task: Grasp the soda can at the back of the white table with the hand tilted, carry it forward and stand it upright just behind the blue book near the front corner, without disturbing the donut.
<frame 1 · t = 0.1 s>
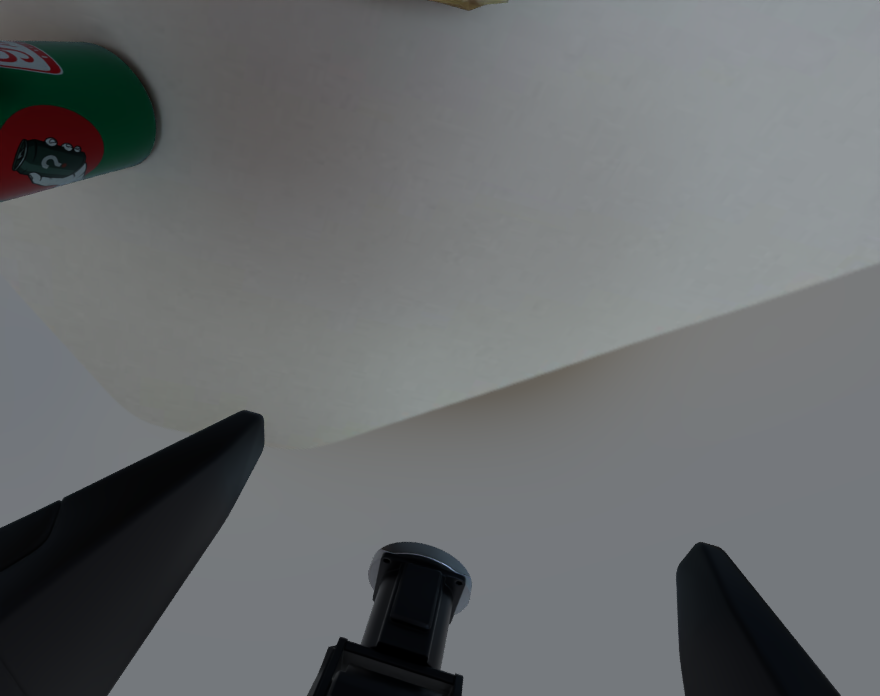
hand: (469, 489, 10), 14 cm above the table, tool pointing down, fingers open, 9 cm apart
soda can: (117, 106, 22), on the table
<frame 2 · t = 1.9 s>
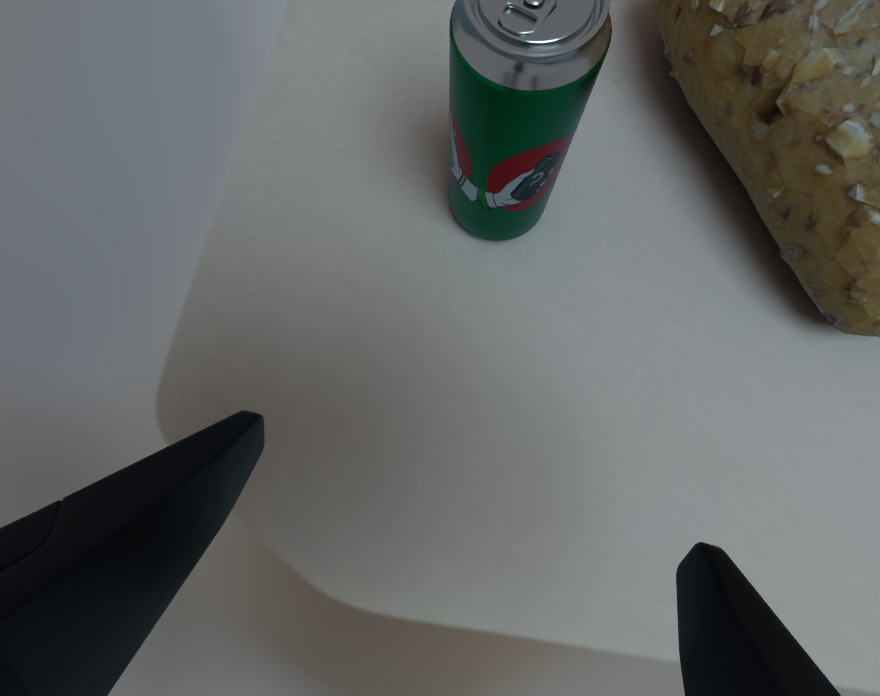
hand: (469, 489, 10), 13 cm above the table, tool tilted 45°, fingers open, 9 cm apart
bread: (868, 133, 26), on the table
soda can: (495, 203, 26), on the table
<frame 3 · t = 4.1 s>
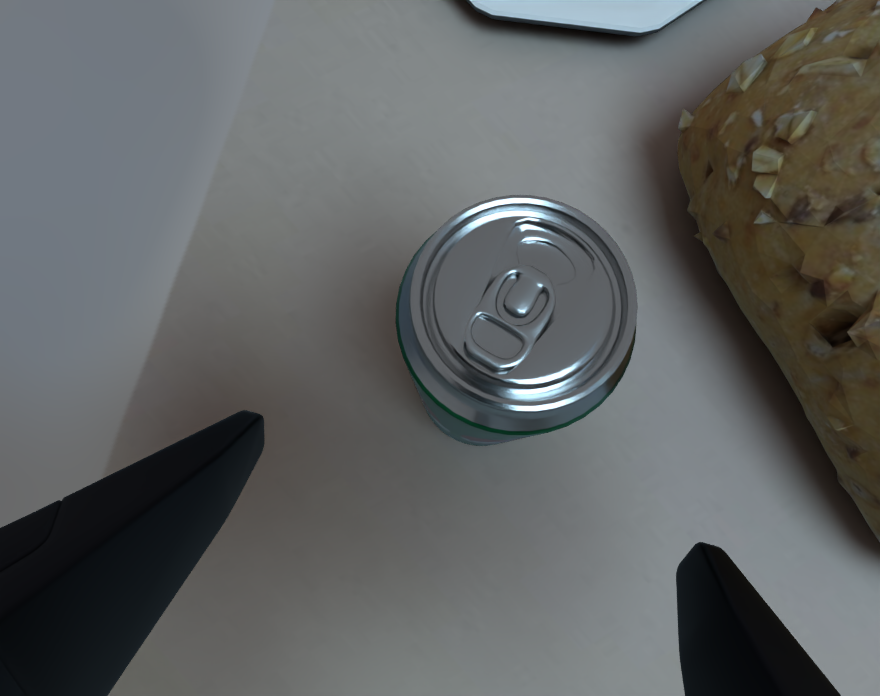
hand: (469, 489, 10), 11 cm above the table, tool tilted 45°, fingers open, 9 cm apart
soda can: (479, 386, 21), on the table
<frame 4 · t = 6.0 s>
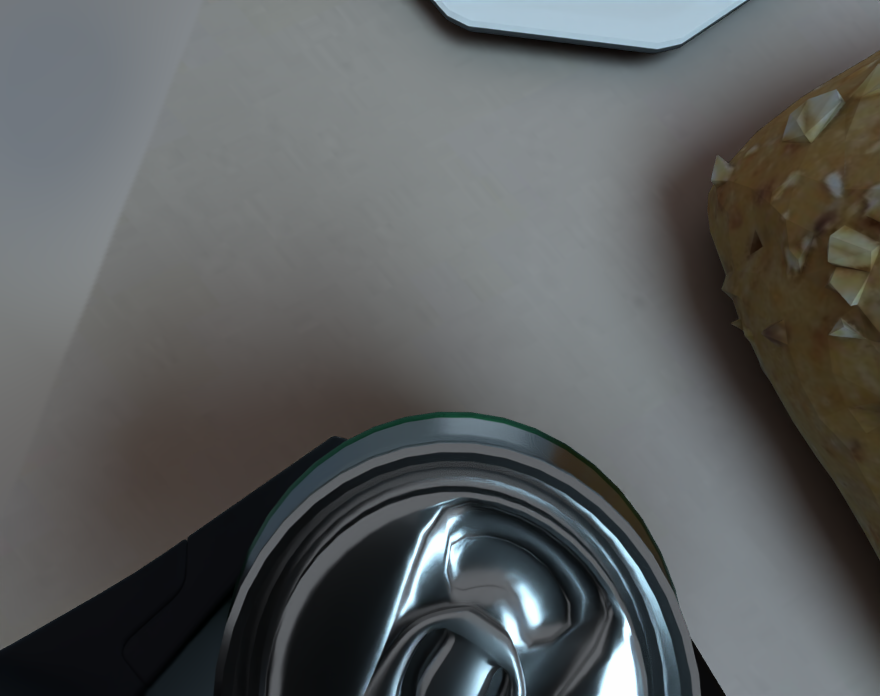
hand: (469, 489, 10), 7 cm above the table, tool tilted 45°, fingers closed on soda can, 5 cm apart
soda can: (448, 515, 16), on the table, touching gripper
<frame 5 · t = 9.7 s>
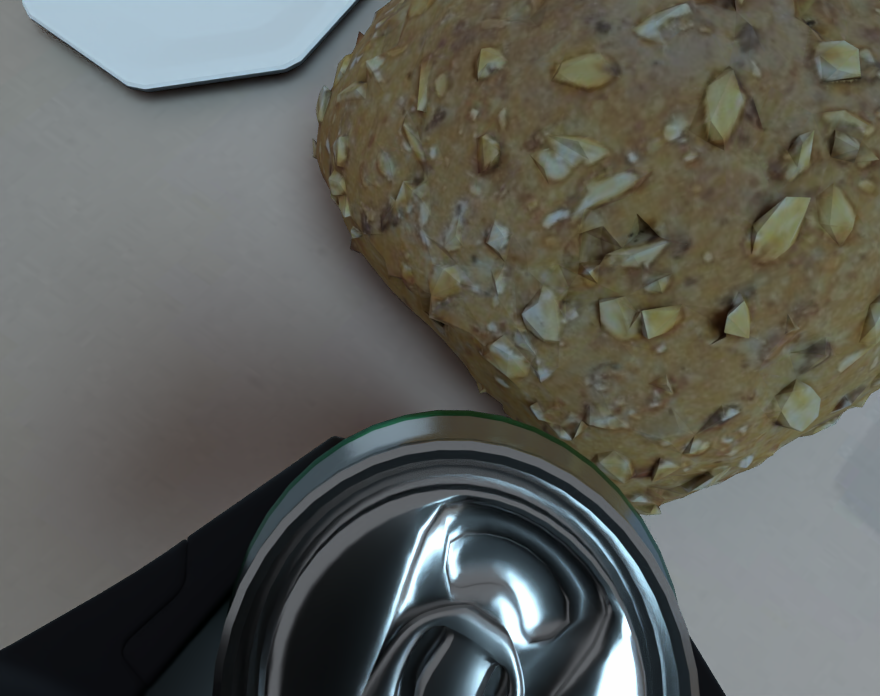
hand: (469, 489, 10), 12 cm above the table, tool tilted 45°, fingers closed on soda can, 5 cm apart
bread: (603, 234, 24), on the table
soda can: (448, 514, 16), point 5 cm above the table, touching gripper
when the fingers open (7 cm above the table, at t = 13.8 s): soda can stays where it is, on the table.
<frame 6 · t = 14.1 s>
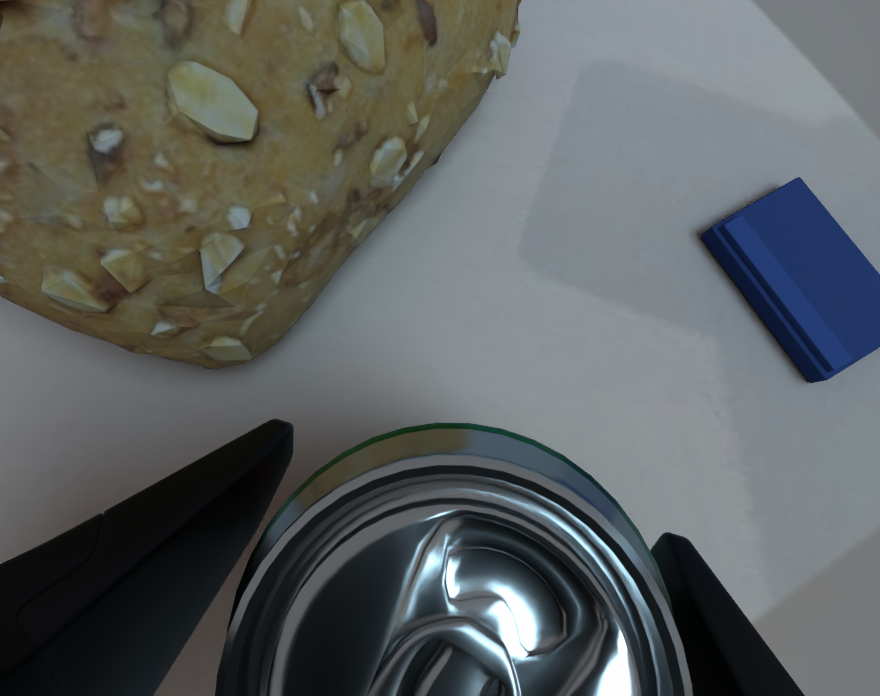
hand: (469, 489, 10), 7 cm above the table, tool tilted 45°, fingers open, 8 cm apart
bread: (191, 86, 20), on the table
blue book: (796, 281, 18), on the table
soda can: (448, 518, 16), on the table
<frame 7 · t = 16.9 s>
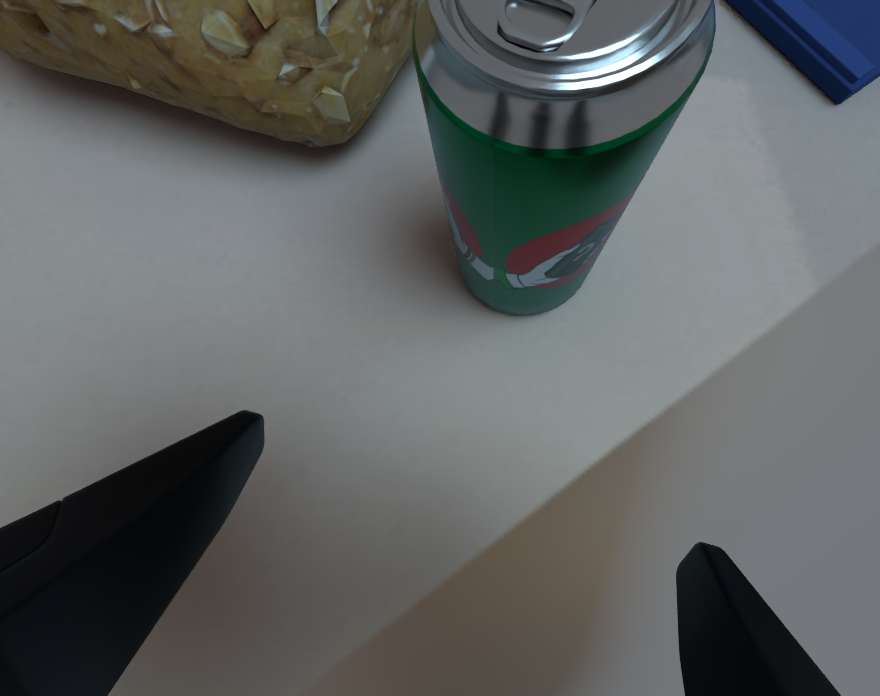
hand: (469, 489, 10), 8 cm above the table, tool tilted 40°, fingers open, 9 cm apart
blue book: (818, 21, 19), on the table
soda can: (522, 258, 19), on the table
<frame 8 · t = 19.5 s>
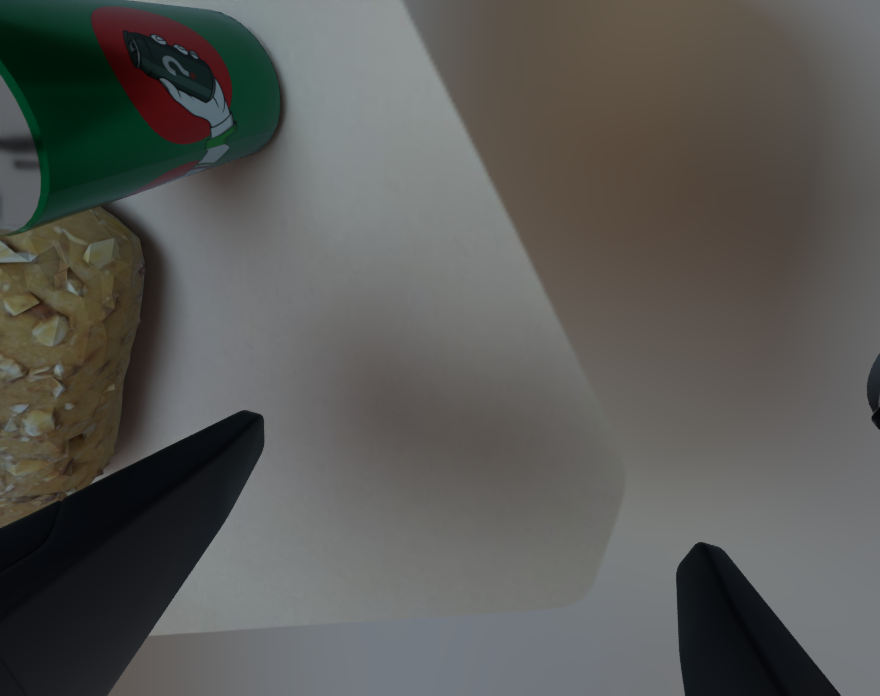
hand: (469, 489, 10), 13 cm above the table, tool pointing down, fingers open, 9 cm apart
soda can: (231, 87, 19), on the table
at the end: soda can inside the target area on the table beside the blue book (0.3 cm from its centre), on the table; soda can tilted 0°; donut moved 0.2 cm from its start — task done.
